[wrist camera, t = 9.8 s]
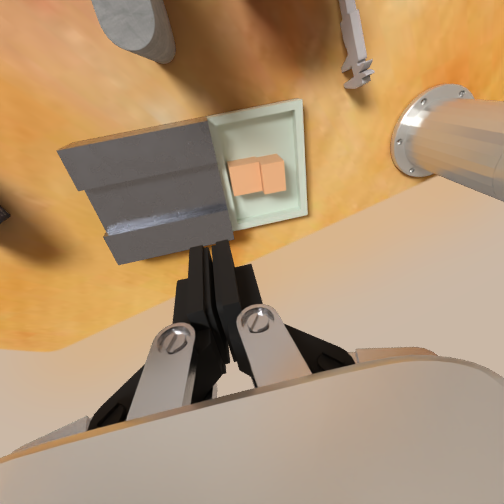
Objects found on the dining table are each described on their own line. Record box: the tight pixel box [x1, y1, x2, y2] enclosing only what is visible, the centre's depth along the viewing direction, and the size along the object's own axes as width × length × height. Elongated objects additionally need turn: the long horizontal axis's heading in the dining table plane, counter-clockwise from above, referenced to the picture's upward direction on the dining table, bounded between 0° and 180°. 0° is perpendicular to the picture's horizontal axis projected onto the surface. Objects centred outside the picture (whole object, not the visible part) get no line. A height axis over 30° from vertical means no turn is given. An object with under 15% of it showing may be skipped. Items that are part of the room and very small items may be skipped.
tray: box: [207, 98, 308, 231], centre depth 39 cm, size 12×16×2 cm
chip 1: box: [227, 156, 263, 196], centre depth 38 cm, size 4×4×3 cm
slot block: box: [57, 116, 234, 265], centre depth 37 cm, size 17×16×4 cm
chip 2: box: [256, 154, 286, 194], centre depth 37 cm, size 4×4×3 cm
